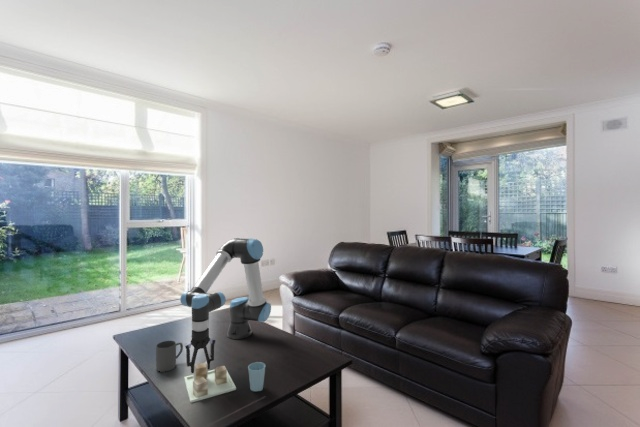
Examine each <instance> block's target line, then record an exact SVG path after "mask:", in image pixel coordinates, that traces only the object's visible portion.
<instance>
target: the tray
mask: <svg viewBox="0 0 640 427" xmlns="http://www.w3.org/2000/svg"><path fill="white" fill-rule="evenodd" d="M183 379H184V380H183V381H184V384H185V388H186V390H187V396H188V398H189V402H190V404H192V403H195V402H198V401H202V400H205V399H206V400H207V399H209V398H212V397H216V396H219V395H222V394H227V393H229V392H233V391H236V390H237V387H236V385H235V383H234V381H233V379H232V377H231V375H230V373H229V372H228V371H227V383H224V384H220V385H216V383H215V368H213V369H212V370H210V369H209V370H208V377H207V379H206V380H207V381H208V395H204V396H201V397H197V398H196V397H195V396H194V395H193V381H194V379H193V374H191V375H187V376H183Z"/></svg>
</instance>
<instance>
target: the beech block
mask: <svg viewBox="0 0 640 427" xmlns="http://www.w3.org/2000/svg"><path fill="white" fill-rule="evenodd" d="M214 369H215V383H216V385H220V384H224V383H227V372H228V370H227V368H226V366H225V365H221V366H217V367H214Z"/></svg>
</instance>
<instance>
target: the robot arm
mask: <svg viewBox="0 0 640 427" xmlns="http://www.w3.org/2000/svg"><path fill="white" fill-rule="evenodd" d="M263 255H264V246H263V244H262V242H261V241H260V240H259V239H257V238H256V239H255V238H239V237H237V238H232V239H229V240H228V241H226V242H225V243H224V244H223V245H221V246H220V247H219V248H218V250H217V251H216V253H215V257H214V258H213V260H212V261H211V262H210V264H209V265H208V266H207V267H206V269H205V271H204V272H203V273H202V274H201V275H200V277H199V278H198V280H197V281H196V283H195V284H194V285H193V286H192V288H191V289H190V290H186V291H184V292H182V293H181V296H180V299H179V301H180V304H181V305H182V306H183V307H188V308H191V339H190V342H188V343H184V346H185V349H186V352H185V353H186V354H185V355H186V357H185V358H186V367H188V368H189V367H190V373H191V374H192V375H193V379H194V380H196V365H197V364H196V359H197V355H198V352H199V350H200V349H203V351H204V352H203V353H204V356H205V359H206V361H204V363H205V365H206V378H207V377H208V371H209V370H210V369H211V362H213V361H214V360H215V344H216V339H215V338H214V337H213V338H210V329H209V327H210V322H209V321H210V315H209V314H210V313H211V312H213V311H215V310H217V309H220V308H221V307H223V306H224V305H225V304H226V296H225V294H224V293H223V292H221V291H219V292H214V293H209V292H208V291H209V290H210V288H212V286H213V284H214V283H215V282H216V280H217V278H218V277H219V276H220V274H221V273H222V272H223V269H224V268H225V267H226V266H227V264H228V263H230V262H231V261H232V260H233V259H235V258H237V259H240V263H241V264H242V265H243V267H244V272H245V280H246V285H247V286H246V287H247V293H248V296H243V297H236V298H234V299H232V300H230V304H229V325H228V329H227V332H226V334H227V338H229V339H234V340H240V339H242V340H243V339H246V338H249V337H250V336H251V335H252V327H251V325H250V321H253V322H258V323H261V322H262V323H265V322H266V321H268V319H269V317H270V316H271V311H272V304H271V303H269V302H267V298H266V296H264V293H263V287H262V286H263V284H262V279H261V272H260V271H261V270H260V265H259V262H260V261H261V259H262V257H263ZM209 343H210V349H209V350H210V356H209V351H208V348H207V345H208V344H209ZM191 346H192V347H193V352H192V357H191V350H190V349H191ZM190 358H191V359H190Z"/></svg>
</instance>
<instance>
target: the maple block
mask: <svg viewBox="0 0 640 427" xmlns="http://www.w3.org/2000/svg"><path fill="white" fill-rule="evenodd" d="M193 395H194V396H195V397H196V398H197V397H201V396H204V395H208V381H207V380H206V379H205V378H204V377H202V378H199V379H197V380H194V381H193Z"/></svg>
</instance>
